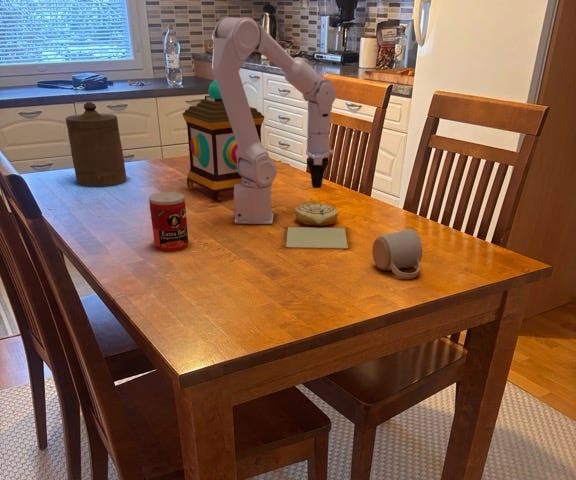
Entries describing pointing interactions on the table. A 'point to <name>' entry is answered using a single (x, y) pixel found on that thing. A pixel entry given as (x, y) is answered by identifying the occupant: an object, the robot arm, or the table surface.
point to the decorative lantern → (213, 144)
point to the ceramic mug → (398, 252)
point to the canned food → (169, 221)
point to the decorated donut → (316, 214)
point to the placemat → (316, 238)
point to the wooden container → (96, 148)
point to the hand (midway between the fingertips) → (316, 187)
